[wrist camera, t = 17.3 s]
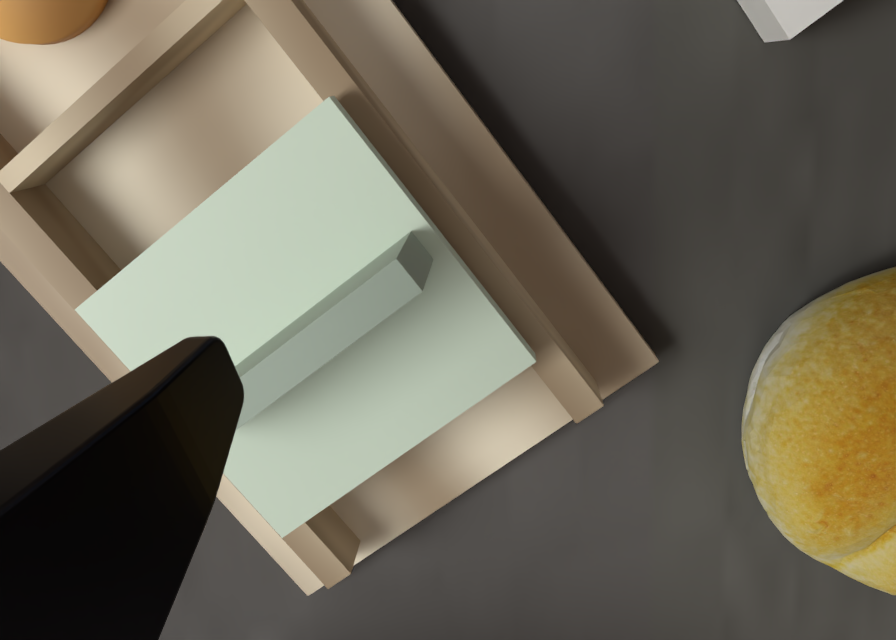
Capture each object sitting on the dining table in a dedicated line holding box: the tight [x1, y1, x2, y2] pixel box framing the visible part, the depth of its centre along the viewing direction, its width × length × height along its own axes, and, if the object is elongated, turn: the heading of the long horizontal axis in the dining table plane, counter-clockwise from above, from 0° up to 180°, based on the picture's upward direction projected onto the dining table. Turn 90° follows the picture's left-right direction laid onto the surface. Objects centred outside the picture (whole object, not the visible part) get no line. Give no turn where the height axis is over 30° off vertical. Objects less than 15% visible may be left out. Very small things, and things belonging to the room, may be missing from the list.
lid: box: [75, 96, 536, 538], centre depth 18 cm, size 8×7×3 cm
